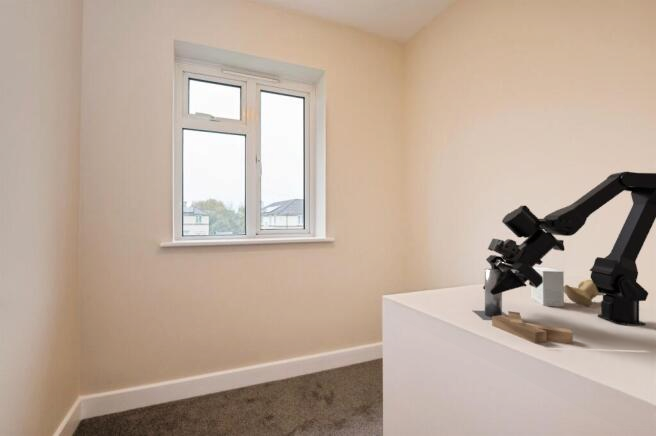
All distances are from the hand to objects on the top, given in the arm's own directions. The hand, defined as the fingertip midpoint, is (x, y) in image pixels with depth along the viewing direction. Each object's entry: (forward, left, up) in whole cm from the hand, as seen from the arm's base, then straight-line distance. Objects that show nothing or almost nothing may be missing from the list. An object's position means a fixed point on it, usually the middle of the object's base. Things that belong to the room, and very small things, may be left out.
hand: (487, 291), depth 81 cm
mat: (-1, 0, -7) cm, 7 cm away
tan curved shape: (-37, -16, -7) cm, 41 cm away
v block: (-4, +12, -7) cm, 14 cm away
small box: (-24, -15, -7) cm, 29 cm away
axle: (-1, 0, -6) cm, 6 cm away
